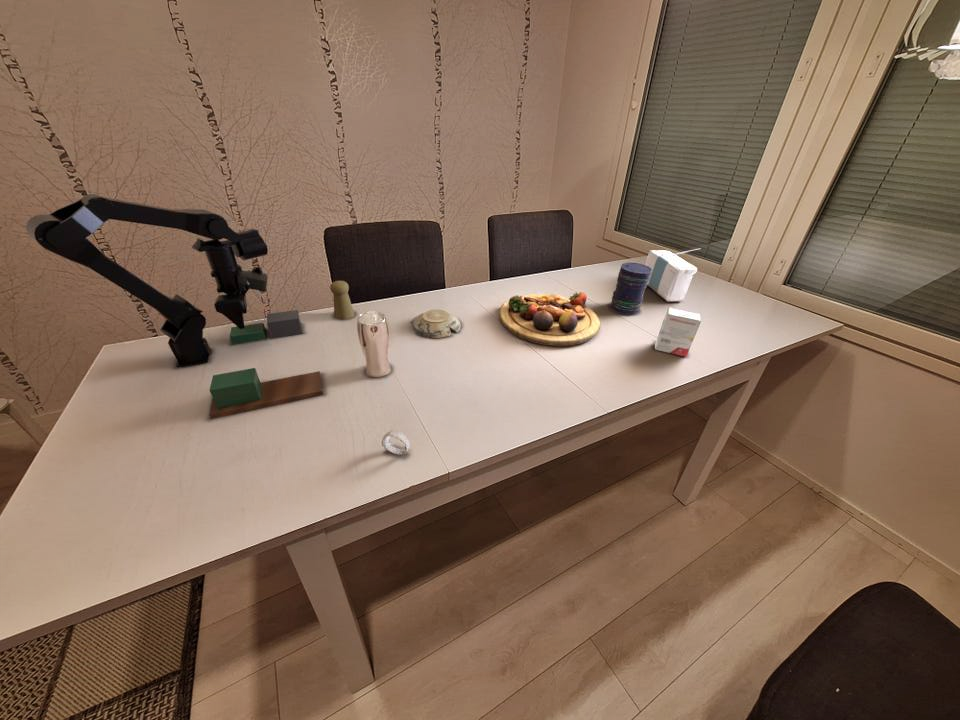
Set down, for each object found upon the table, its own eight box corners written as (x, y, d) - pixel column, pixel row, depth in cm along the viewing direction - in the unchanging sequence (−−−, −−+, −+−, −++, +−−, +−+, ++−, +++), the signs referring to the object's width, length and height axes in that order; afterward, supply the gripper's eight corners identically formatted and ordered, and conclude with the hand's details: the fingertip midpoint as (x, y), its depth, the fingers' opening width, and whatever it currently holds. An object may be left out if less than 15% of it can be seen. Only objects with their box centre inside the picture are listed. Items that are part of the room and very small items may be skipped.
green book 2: (218, 408, 77) (213, 399, 76) (221, 392, 82) (217, 384, 80) (260, 400, 80) (257, 391, 79) (261, 385, 85) (258, 376, 83)
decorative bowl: (426, 311, 121) (402, 331, 110) (426, 300, 119) (401, 319, 108) (468, 321, 117) (447, 343, 105) (468, 310, 115) (447, 332, 103)
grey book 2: (271, 338, 103) (269, 330, 102) (271, 329, 107) (269, 321, 106) (302, 333, 106) (300, 326, 105) (301, 324, 110) (299, 317, 109)
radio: (638, 281, 152) (654, 231, 141) (657, 281, 153) (674, 232, 142) (665, 303, 135) (684, 249, 124) (685, 303, 136) (707, 249, 125)
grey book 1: (269, 330, 102) (266, 322, 100) (269, 321, 106) (267, 313, 104) (300, 326, 105) (298, 318, 103) (299, 317, 109) (297, 309, 107)
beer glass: (367, 381, 89) (359, 327, 81) (361, 366, 94) (352, 313, 86) (396, 374, 92) (390, 321, 84) (388, 360, 97) (382, 308, 89)
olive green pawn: (348, 320, 113) (342, 287, 107) (330, 318, 114) (323, 284, 108) (357, 312, 118) (352, 279, 112) (340, 309, 119) (334, 277, 113)
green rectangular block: (232, 344, 100) (229, 336, 98) (234, 334, 104) (231, 326, 102) (265, 339, 103) (263, 331, 101) (266, 329, 107) (263, 322, 105)
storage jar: (641, 307, 131) (655, 266, 123) (635, 317, 124) (648, 275, 116) (614, 300, 135) (624, 260, 127) (606, 309, 128) (617, 268, 120)
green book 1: (213, 399, 76) (209, 390, 75) (217, 384, 80) (212, 374, 79) (257, 391, 79) (253, 381, 78) (258, 376, 83) (255, 367, 82)
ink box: (686, 349, 109) (701, 313, 102) (686, 357, 105) (702, 321, 98) (655, 341, 112) (668, 306, 105) (654, 349, 108) (667, 313, 101)
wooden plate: (567, 296, 136) (571, 274, 132) (619, 339, 112) (627, 315, 107) (485, 304, 127) (487, 282, 122) (523, 354, 102) (526, 328, 98)
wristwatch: (389, 443, 73) (386, 425, 71) (412, 450, 72) (410, 431, 69) (382, 454, 71) (379, 436, 68) (405, 461, 70) (403, 442, 67)
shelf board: (210, 418, 77) (208, 414, 76) (215, 395, 83) (213, 391, 82) (323, 394, 85) (322, 390, 84) (320, 375, 91) (319, 371, 90)
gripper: (259, 274, 87) (276, 332, 96) (261, 250, 101) (276, 302, 110) (203, 280, 83) (226, 339, 92) (214, 254, 97) (233, 307, 106)
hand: (243, 320), depth 100 cm, fingers open, 9 cm apart
